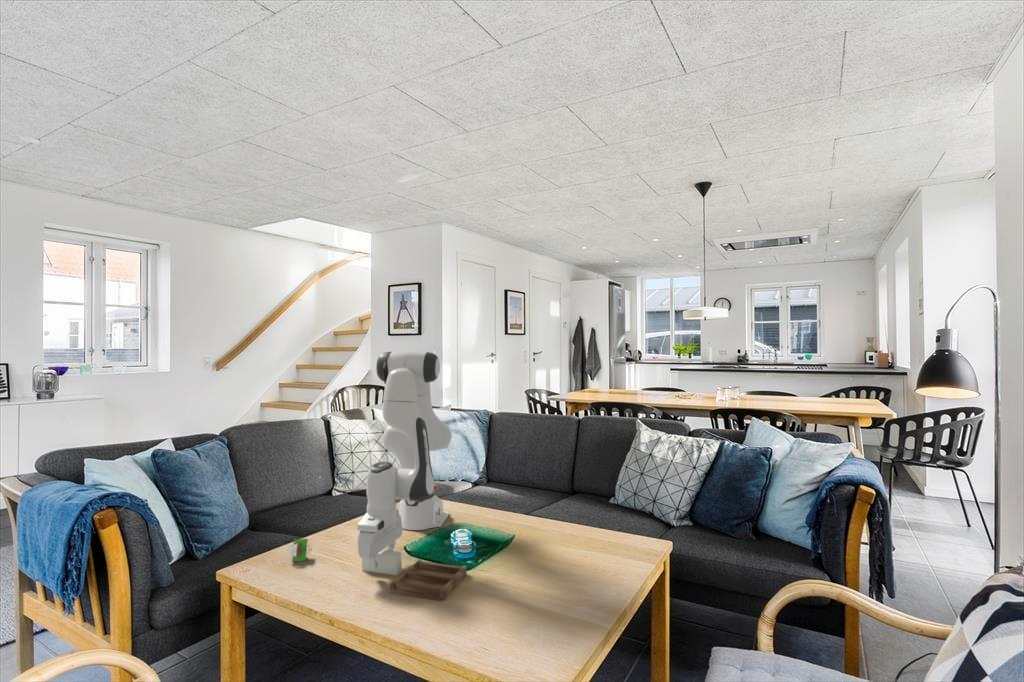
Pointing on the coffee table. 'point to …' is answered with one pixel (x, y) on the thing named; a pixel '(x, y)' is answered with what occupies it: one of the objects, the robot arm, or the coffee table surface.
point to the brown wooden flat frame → (429, 580)
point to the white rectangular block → (385, 563)
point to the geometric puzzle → (299, 550)
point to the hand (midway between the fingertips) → (382, 561)
